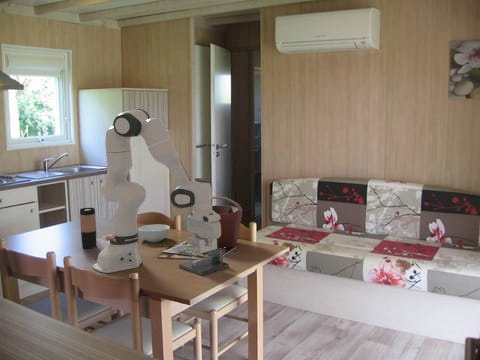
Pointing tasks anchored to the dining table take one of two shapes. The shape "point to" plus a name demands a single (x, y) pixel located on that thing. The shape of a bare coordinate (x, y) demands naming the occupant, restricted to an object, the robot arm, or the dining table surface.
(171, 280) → the dining table surface
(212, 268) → the coupler plate
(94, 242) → the travel mug
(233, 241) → the bucket
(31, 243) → the dining table surface
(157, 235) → the cereal bowl
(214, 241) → the block
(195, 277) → the dining table surface
